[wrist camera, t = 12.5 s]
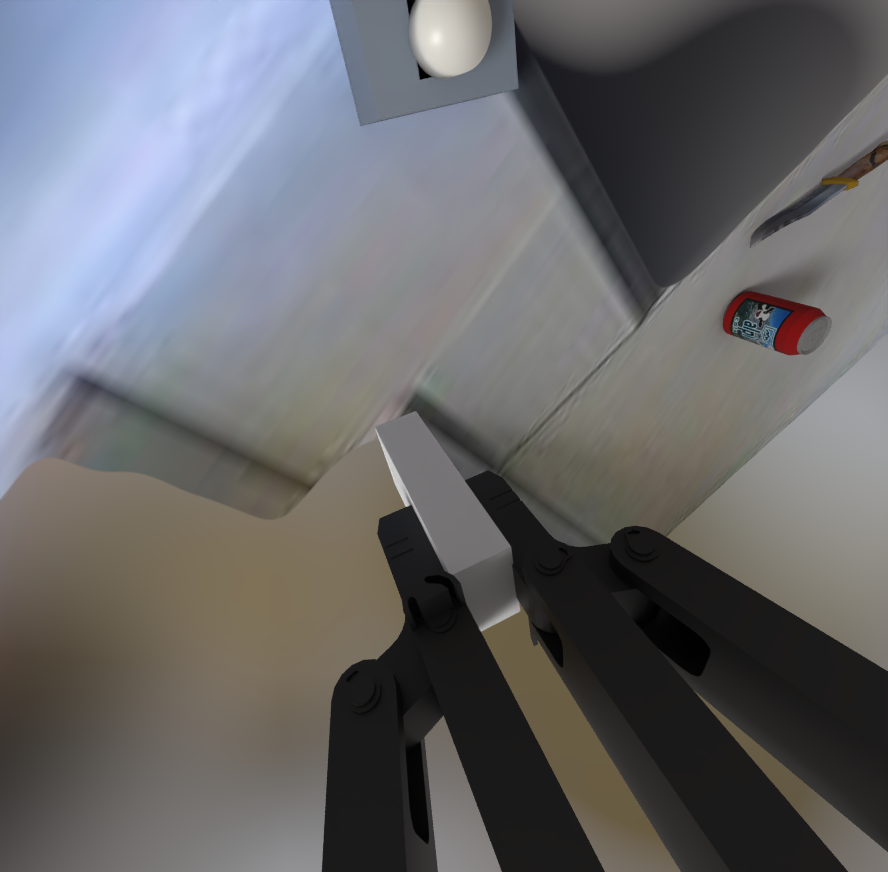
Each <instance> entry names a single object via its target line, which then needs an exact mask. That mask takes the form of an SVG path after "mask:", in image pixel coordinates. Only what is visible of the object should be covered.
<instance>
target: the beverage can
mask: <svg viewBox="0 0 888 872" xmlns="http://www.w3.org/2000/svg"><path fill="white" fill-rule="evenodd" d="M831 323H832V322H831V319H830V318H829V317H827V316H826V315H825V314H824V313H823V312H822V311H821V310H820V309H819V308H815V307H811V306H808V305H804V304H800V303H796V302H792V301H788V300H785V299H781V298H777V297H773V296H769V295H765V294H760V293H756V292H752V291H748V292H745V293H743V294H741V295H740V296H738V297H737V298H736V299H735V300H734V301H732V303H731V304H730V305H729V306H728V308H727V310H726V312H725V314H724V318H723V328H724V331H725V332H726V333H728V334H730V335H733V336H736V337H739V338H741V339H744V340H747V341H749V342H752V343H755V344H758V345H761V346H763V347H766V348H769V349H772V350H775V351H778V352H781V353H784V354H787V355H798V354H803V355H807V354H810V353H811V352H813V351H814V350H816V349H817V348H818V347H819V346H820V345H821V344H822V342H823V341H824V340H825V338H826V337H827V335H828V333H829V331H830V328H831Z"/></svg>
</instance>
